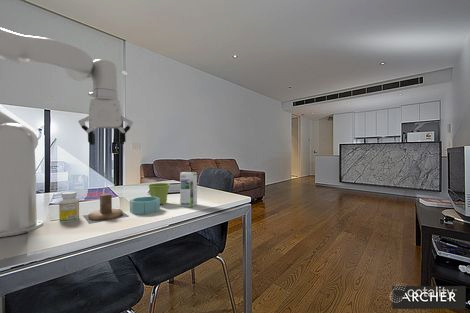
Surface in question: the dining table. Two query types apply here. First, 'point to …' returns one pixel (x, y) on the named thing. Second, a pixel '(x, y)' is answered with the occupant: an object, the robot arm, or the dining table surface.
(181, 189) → the syrup box
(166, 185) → the plant pot
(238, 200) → the dining table surface
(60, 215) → the supplement bottle
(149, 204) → the bowl
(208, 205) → the dining table surface
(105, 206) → the lid
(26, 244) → the dining table surface
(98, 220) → the mat
